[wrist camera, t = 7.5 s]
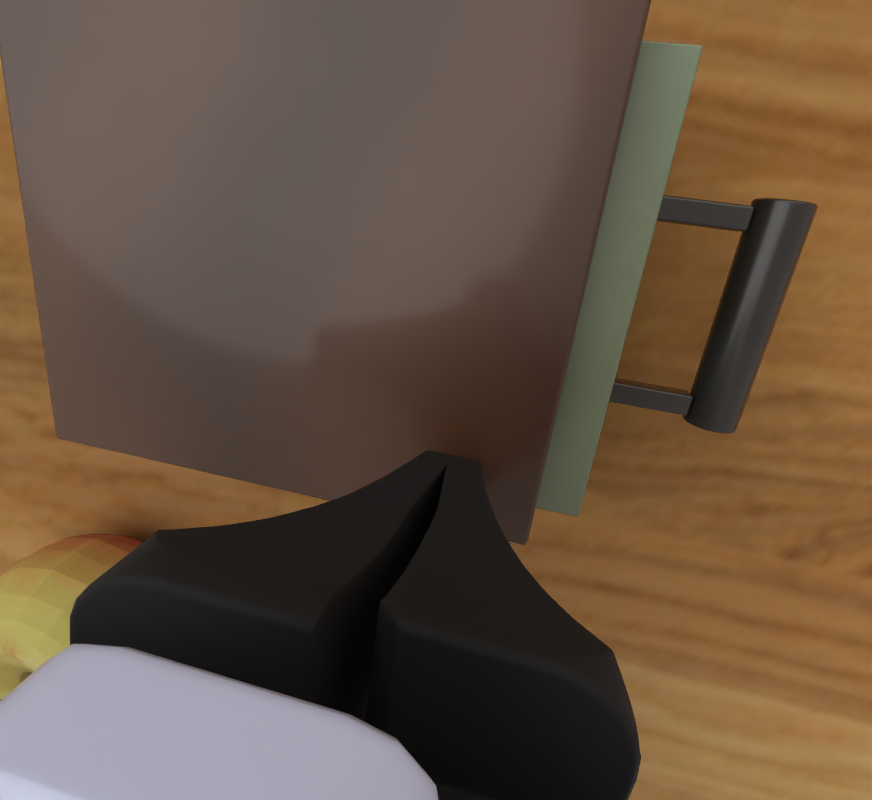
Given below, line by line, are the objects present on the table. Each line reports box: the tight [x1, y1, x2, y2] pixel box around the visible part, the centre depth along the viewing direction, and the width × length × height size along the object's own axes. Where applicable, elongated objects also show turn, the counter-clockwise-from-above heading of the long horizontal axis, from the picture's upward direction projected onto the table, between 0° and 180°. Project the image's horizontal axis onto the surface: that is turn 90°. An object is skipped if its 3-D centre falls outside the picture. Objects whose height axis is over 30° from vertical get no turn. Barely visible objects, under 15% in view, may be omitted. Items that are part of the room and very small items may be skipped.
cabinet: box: [0, 0, 651, 545], centre depth 15 cm, size 14×12×9 cm
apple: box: [0, 534, 143, 701], centre depth 24 cm, size 10×10×8 cm
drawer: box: [535, 41, 818, 517], centre depth 15 cm, size 17×10×7 cm, turn 82°
